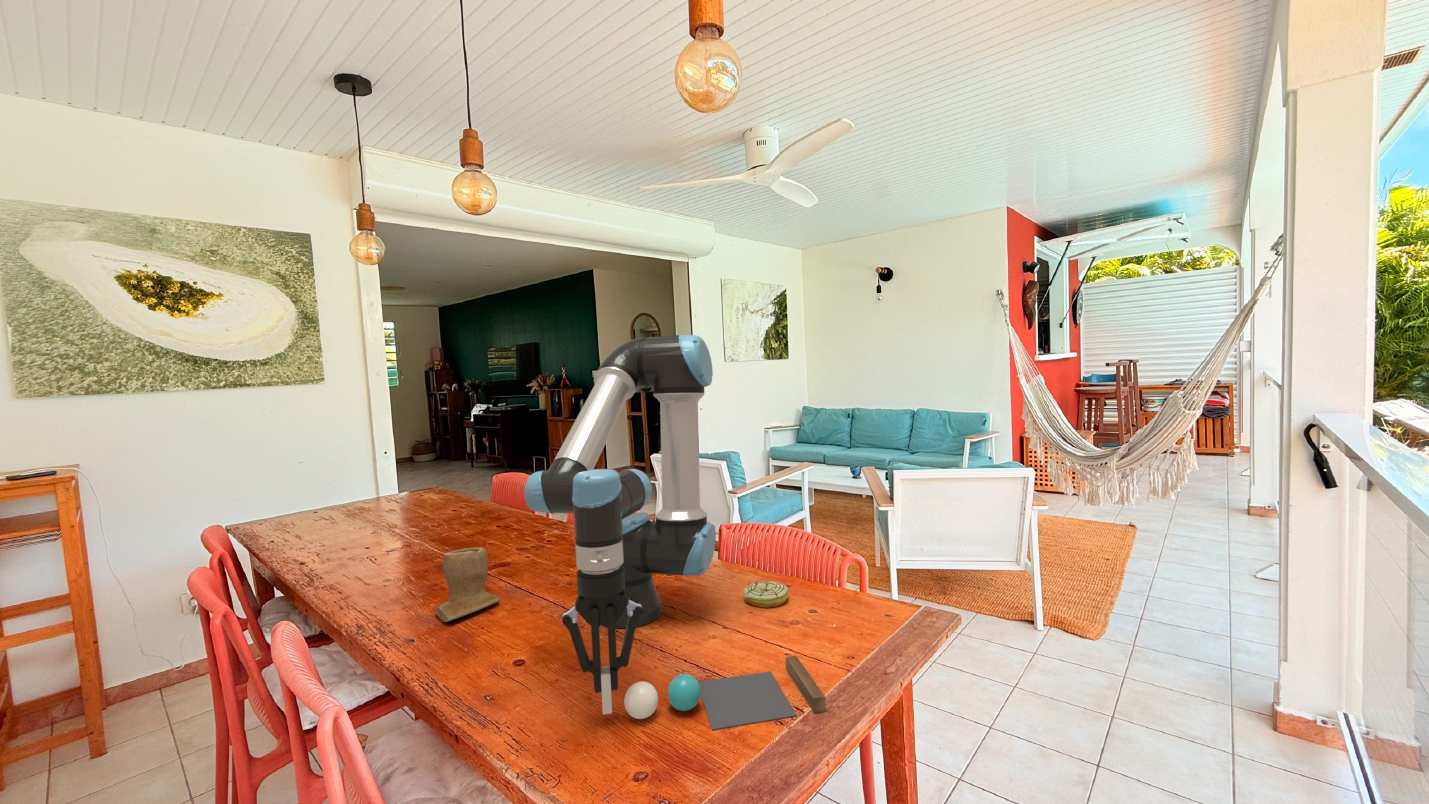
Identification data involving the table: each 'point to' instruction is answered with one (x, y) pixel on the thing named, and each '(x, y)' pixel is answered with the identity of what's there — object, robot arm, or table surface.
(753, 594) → the decorated donut
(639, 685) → the cue ball
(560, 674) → the table surface
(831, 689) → the table surface
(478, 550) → the tan flanged block
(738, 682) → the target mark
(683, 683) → the teal ball
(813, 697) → the rail
